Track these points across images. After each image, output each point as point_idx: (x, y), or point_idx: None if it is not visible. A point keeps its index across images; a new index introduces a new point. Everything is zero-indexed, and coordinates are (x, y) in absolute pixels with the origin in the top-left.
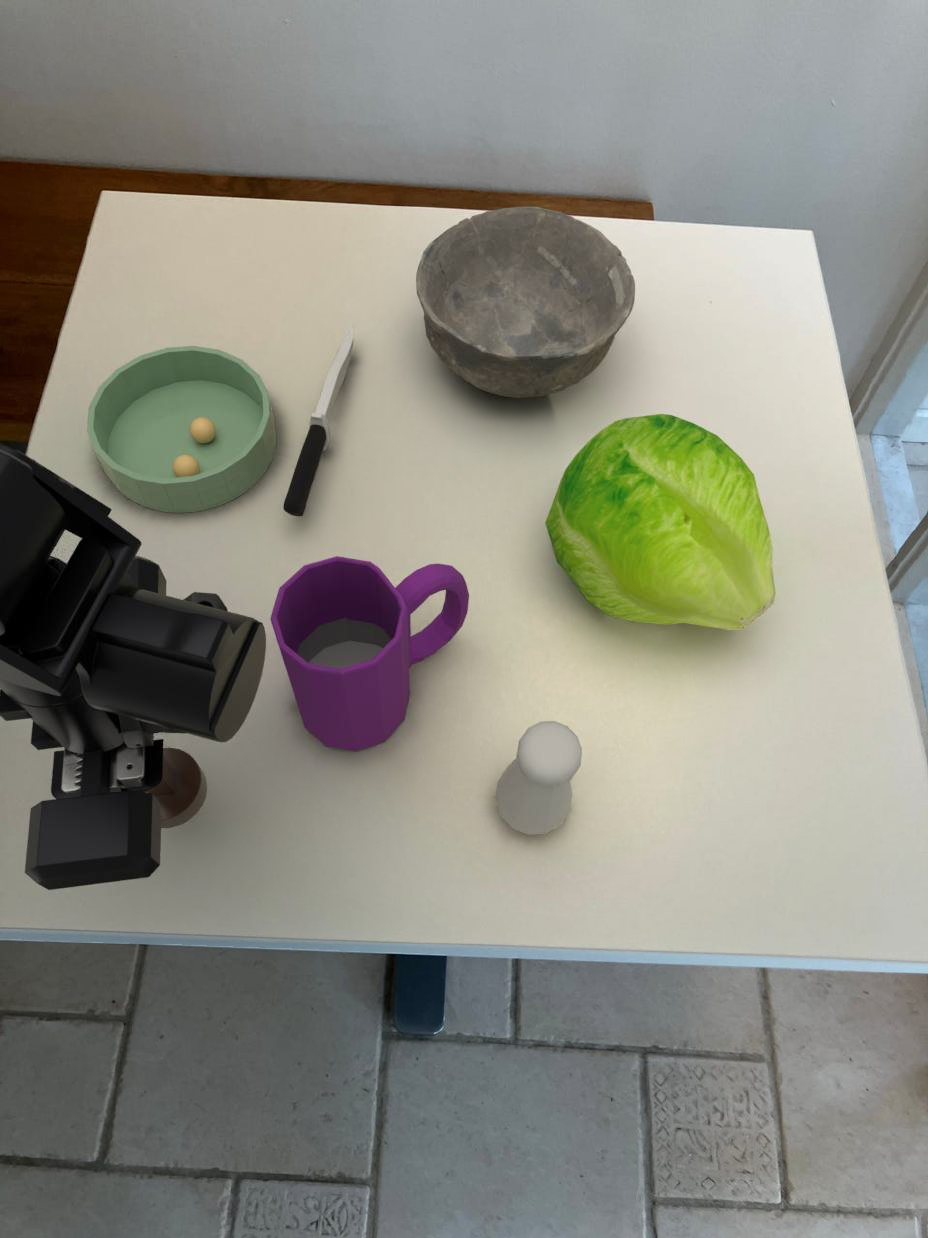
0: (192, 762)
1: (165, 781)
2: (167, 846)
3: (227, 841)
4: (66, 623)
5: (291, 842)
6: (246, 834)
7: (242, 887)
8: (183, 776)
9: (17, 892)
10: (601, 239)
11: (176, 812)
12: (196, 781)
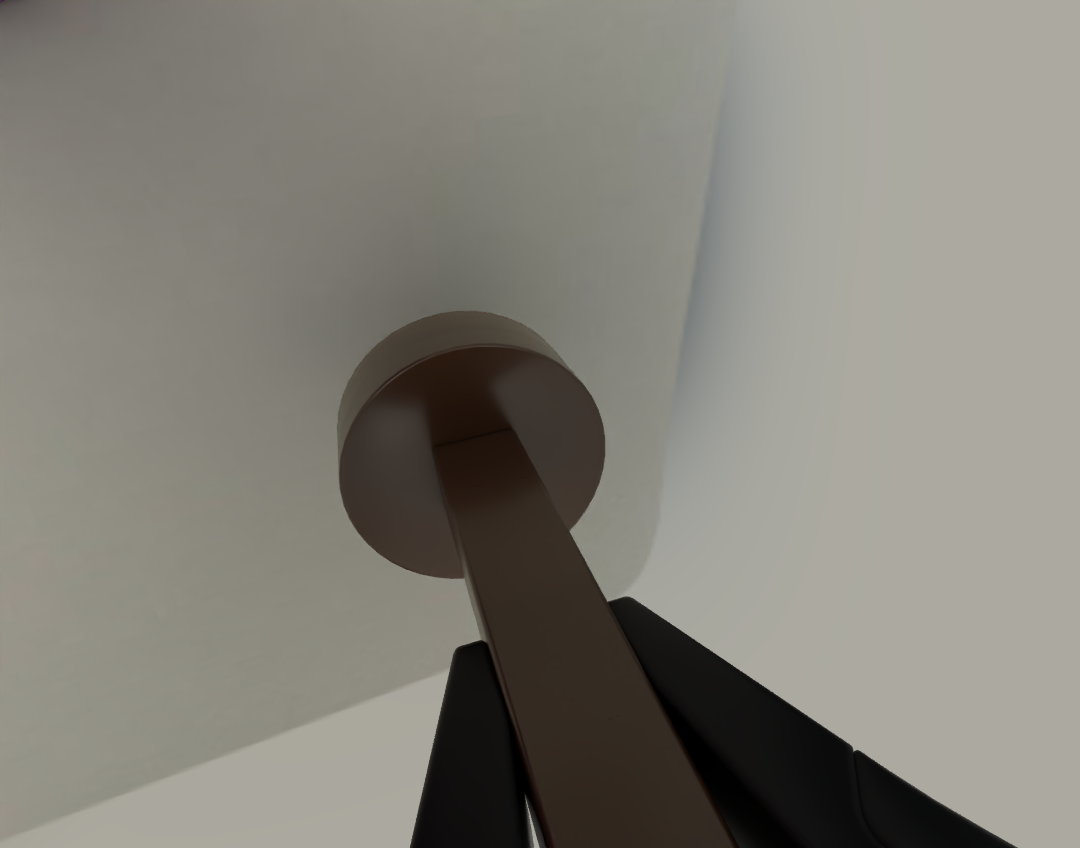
0: (392, 394)
1: (547, 493)
2: None
3: (493, 223)
4: None
5: (491, 21)
6: (472, 171)
7: (610, 163)
8: (451, 412)
9: None
10: None
11: (582, 402)
12: (467, 362)
